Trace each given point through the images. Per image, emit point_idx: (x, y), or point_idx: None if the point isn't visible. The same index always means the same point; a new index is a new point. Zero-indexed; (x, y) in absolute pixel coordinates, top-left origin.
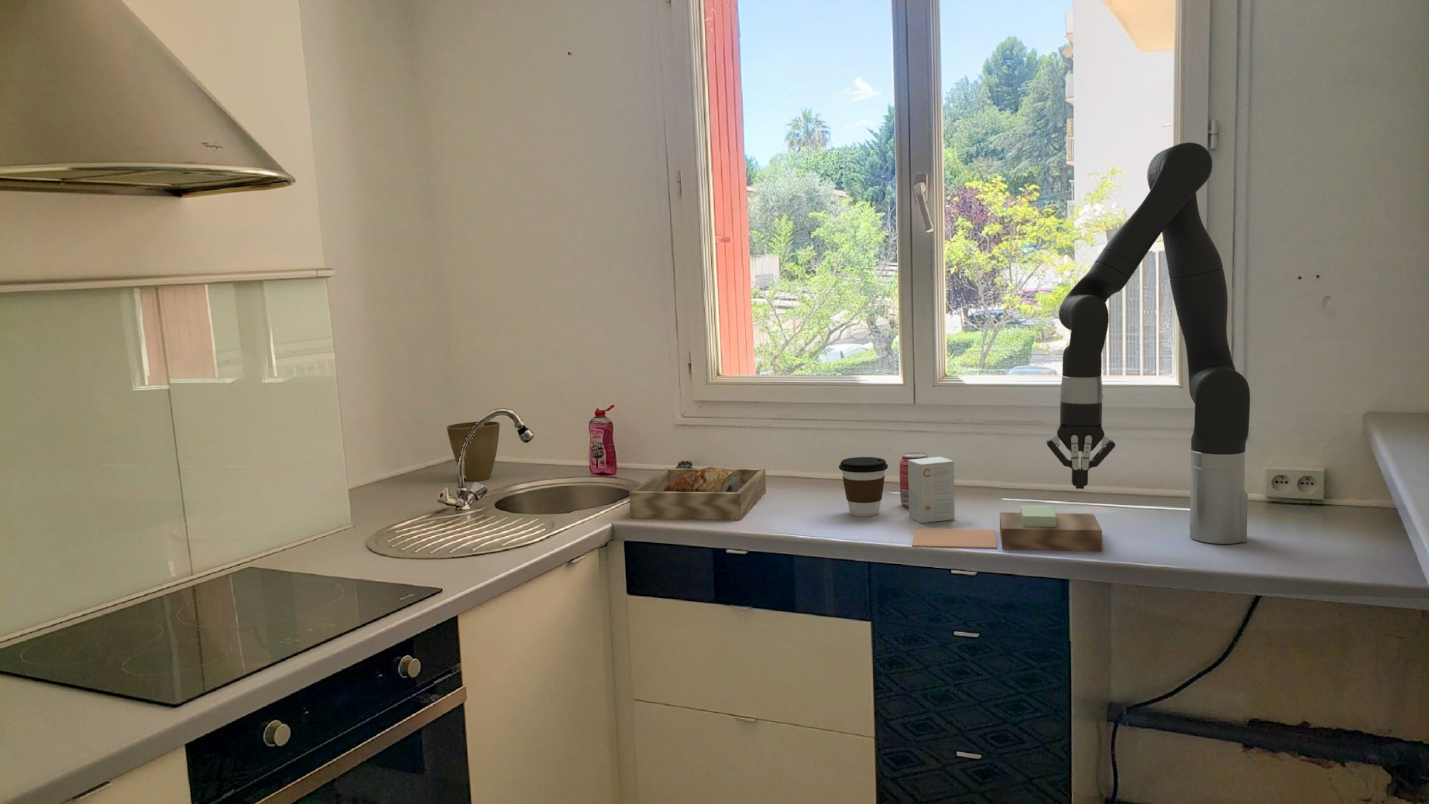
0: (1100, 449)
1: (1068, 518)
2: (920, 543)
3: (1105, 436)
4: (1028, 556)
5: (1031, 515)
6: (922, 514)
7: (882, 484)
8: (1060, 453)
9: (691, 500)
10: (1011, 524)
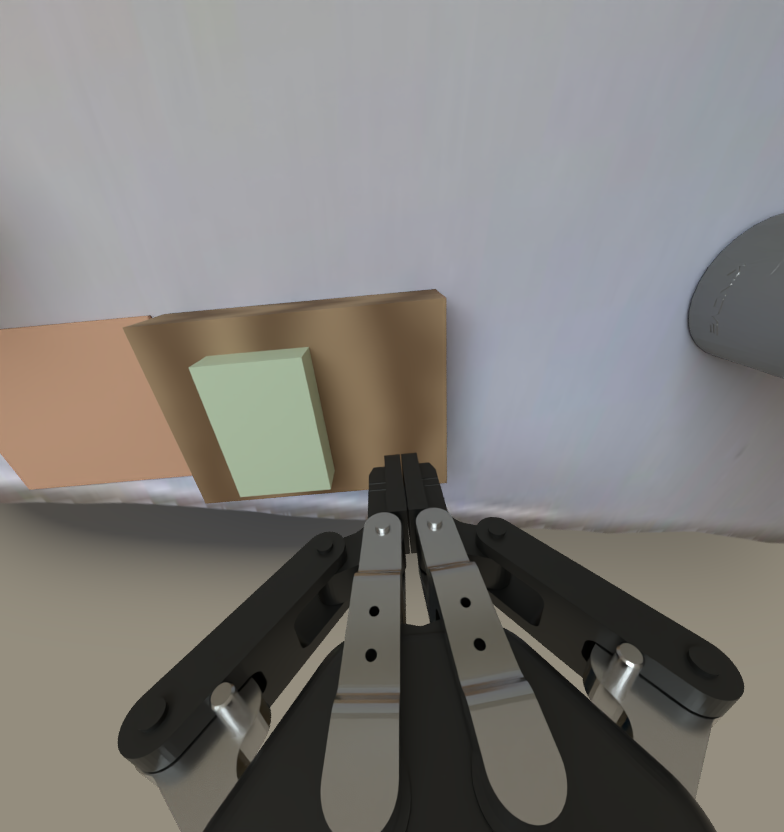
0: (577, 615)
1: (363, 378)
2: (37, 475)
3: (697, 781)
4: (293, 505)
5: (261, 487)
6: None
7: None
8: (293, 665)
9: None
10: (216, 465)
